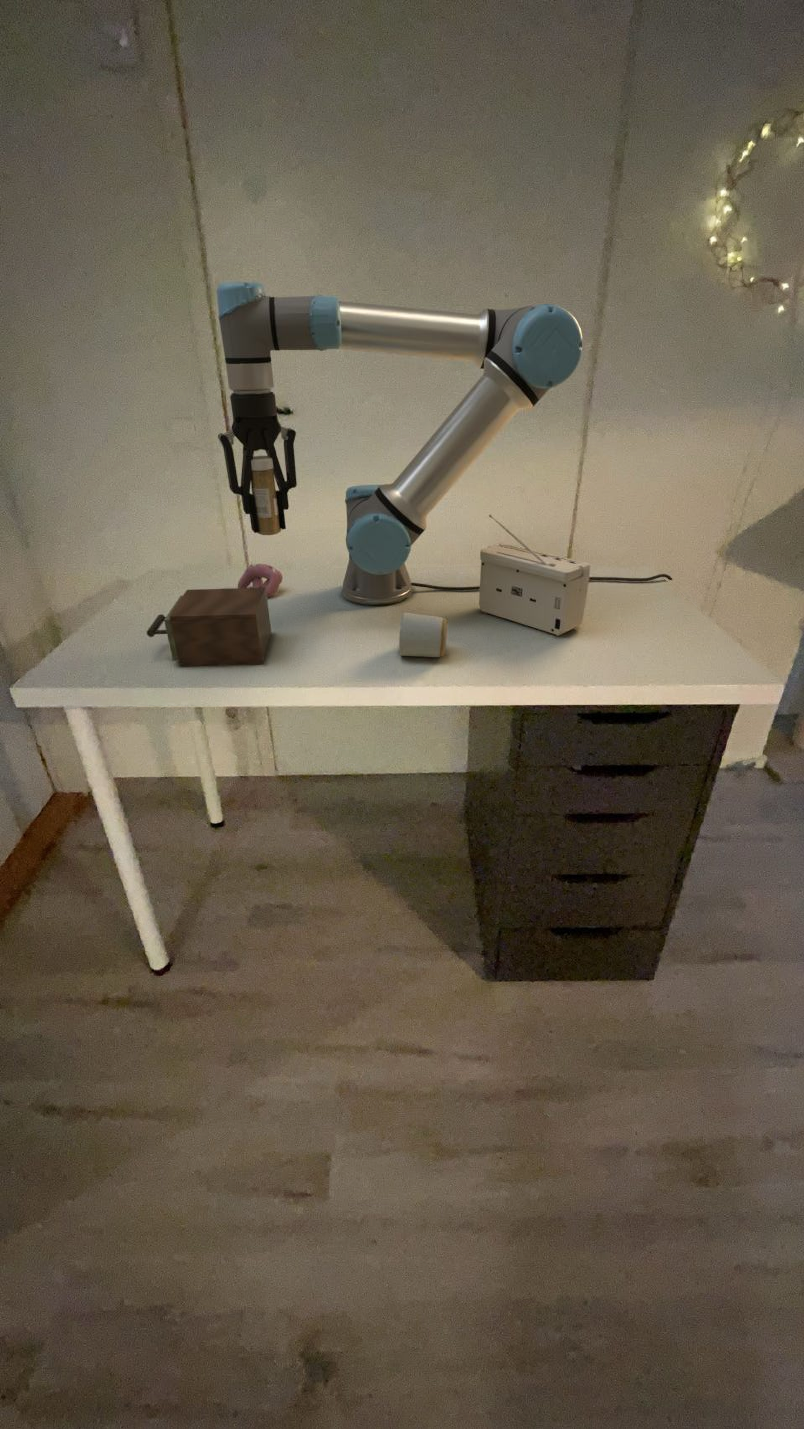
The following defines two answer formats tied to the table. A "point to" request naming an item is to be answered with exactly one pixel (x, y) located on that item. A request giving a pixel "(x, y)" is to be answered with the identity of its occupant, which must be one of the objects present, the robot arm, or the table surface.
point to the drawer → (168, 631)
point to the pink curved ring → (255, 576)
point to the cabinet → (221, 627)
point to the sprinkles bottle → (265, 495)
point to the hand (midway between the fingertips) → (268, 528)
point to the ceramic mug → (422, 635)
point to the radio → (533, 587)
